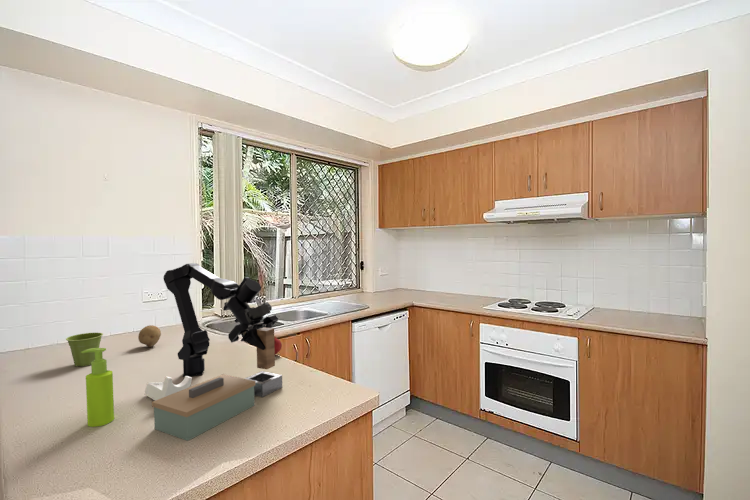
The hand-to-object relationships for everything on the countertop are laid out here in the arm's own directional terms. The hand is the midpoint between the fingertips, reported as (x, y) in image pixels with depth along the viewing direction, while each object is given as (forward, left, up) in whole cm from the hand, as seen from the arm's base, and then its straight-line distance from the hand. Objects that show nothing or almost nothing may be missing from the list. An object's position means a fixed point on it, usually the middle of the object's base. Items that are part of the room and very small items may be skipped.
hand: (269, 347), depth 126 cm
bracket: (-30, +4, -14) cm, 34 cm away
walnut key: (-1, +1, -7) cm, 7 cm away
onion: (+5, +37, -14) cm, 39 cm away
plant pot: (-67, +53, -14) cm, 87 cm away
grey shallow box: (-2, 0, -13) cm, 14 cm away
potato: (-48, +71, -14) cm, 87 cm away
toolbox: (-16, -13, -13) cm, 25 cm away
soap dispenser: (-45, -7, -14) cm, 48 cm away
